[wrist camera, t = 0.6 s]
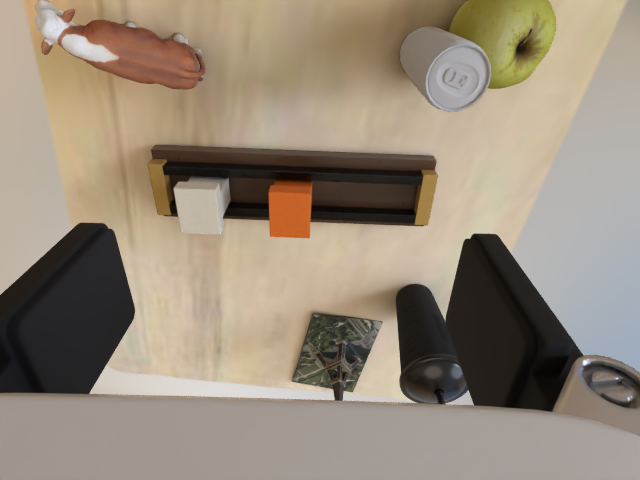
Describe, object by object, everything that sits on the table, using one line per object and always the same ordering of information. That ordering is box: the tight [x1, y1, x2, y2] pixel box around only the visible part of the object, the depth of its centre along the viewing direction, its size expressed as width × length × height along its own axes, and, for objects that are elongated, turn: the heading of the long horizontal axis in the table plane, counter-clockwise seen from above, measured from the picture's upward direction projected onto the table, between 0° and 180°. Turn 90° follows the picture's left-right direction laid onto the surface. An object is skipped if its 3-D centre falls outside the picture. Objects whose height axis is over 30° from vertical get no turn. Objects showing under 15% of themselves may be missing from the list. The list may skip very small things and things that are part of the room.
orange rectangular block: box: [269, 179, 312, 238], centre depth 42 cm, size 5×4×6 cm
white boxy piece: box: [174, 176, 231, 235], centre depth 42 cm, size 5×4×6 cm
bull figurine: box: [35, 0, 205, 89], centre depth 35 cm, size 4×13×8 cm, turn 69°
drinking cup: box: [396, 284, 468, 404], centre depth 46 cm, size 8×8×20 cm
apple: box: [449, 0, 556, 89], centre depth 34 cm, size 8×8×10 cm
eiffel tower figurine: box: [292, 314, 382, 401], centre depth 55 cm, size 15×10×13 cm
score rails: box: [148, 159, 438, 225], centre depth 44 cm, size 6×30×2 cm, turn 88°
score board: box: [151, 145, 436, 226], centre depth 46 cm, size 8×30×2 cm, turn 88°
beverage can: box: [400, 26, 491, 112], centre depth 34 cm, size 5×5×12 cm
